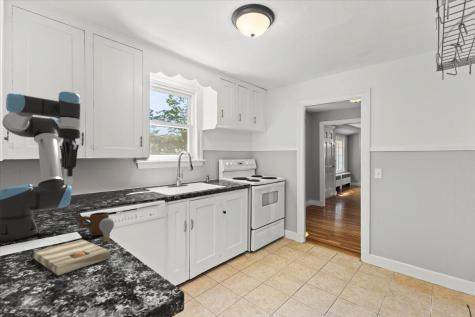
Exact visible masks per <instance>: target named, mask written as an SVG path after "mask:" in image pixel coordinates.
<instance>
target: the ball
mask: <svg viewBox="0 0 475 317" xmlns="http://www.w3.org/2000/svg"><path fill="white" fill-rule="evenodd" d="M82 256H85V253H84V252H78V253H76V254H75V255H74V257H73V258H74V259H75V258H79V257H82Z"/></svg>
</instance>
